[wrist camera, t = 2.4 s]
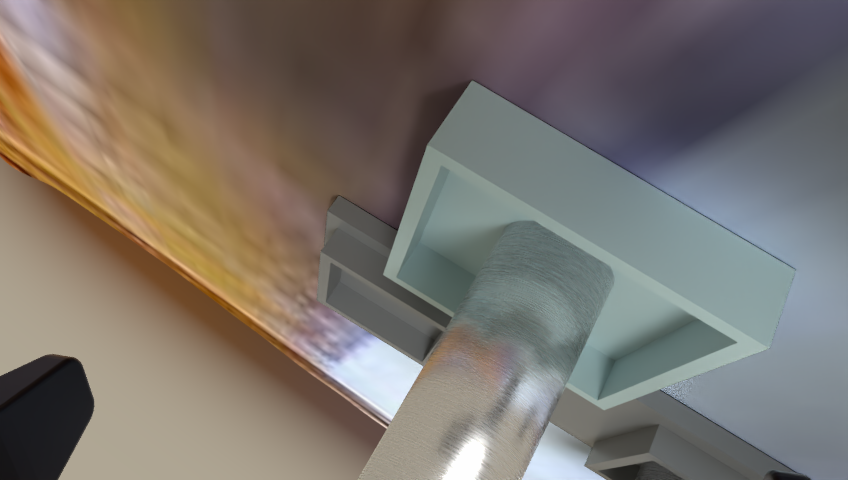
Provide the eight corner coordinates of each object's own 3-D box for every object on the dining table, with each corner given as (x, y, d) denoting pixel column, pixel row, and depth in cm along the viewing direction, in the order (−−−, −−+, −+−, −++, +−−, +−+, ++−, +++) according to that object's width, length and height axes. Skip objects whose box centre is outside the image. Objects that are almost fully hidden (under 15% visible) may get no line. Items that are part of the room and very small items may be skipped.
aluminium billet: (636, 270, 23) (490, 587, 18) (585, 309, 27) (455, 576, 22) (522, 203, 23) (350, 498, 19) (488, 251, 27) (340, 503, 23)
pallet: (839, 499, 31) (825, 551, 30) (716, 504, 40) (702, 545, 39) (339, 195, 32) (309, 235, 31) (329, 267, 41) (306, 300, 40)
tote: (796, 269, 20) (769, 348, 19) (627, 355, 30) (603, 410, 29) (472, 80, 21) (427, 144, 19) (414, 226, 31) (382, 274, 30)
